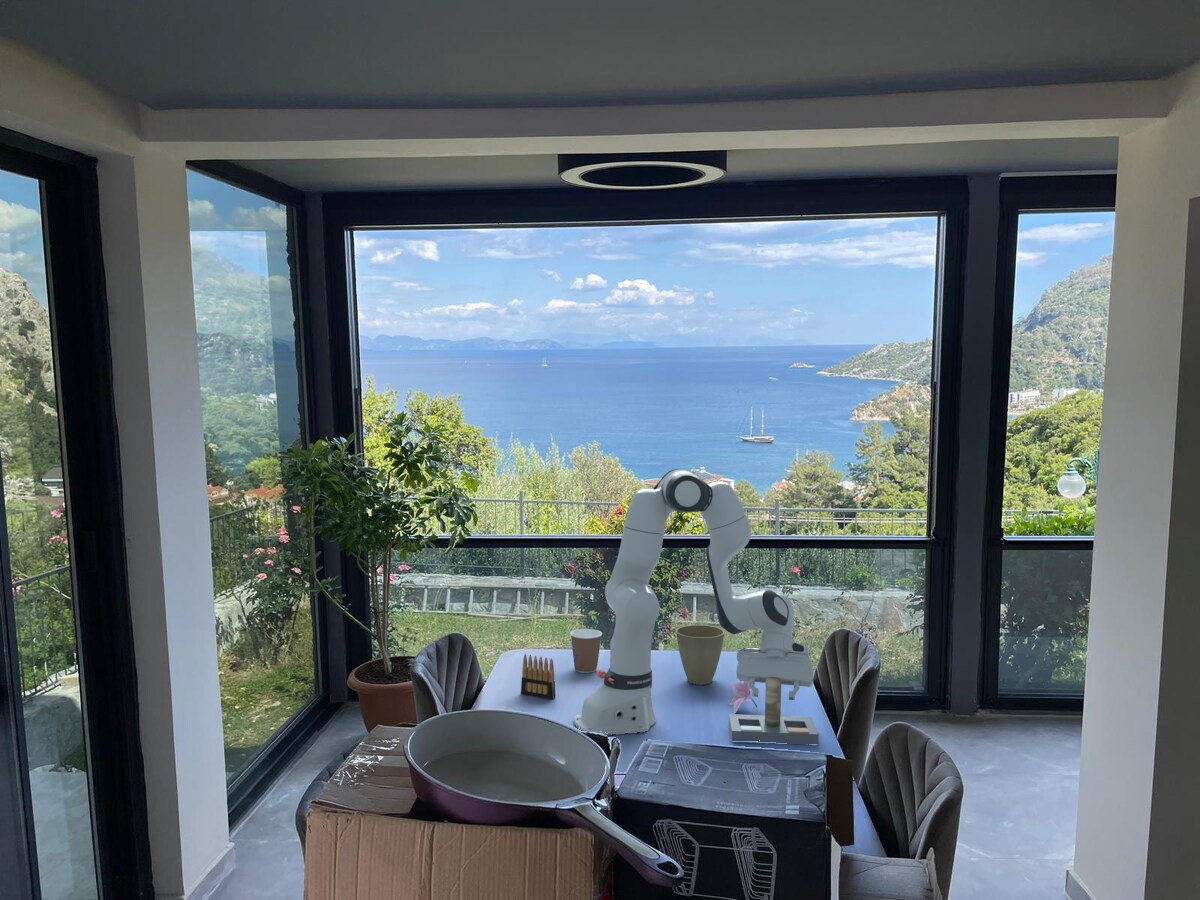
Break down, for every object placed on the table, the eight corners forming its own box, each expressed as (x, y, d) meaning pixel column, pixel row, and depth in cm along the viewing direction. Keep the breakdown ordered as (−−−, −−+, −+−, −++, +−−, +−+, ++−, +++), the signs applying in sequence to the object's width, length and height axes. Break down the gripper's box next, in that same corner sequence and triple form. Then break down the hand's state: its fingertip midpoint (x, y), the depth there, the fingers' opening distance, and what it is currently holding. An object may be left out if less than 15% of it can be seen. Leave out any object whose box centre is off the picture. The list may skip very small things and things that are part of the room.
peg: (770, 727, 232) (771, 682, 231) (761, 722, 235) (762, 677, 234) (783, 725, 233) (784, 680, 232) (774, 720, 237) (775, 676, 236)
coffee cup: (572, 663, 293) (573, 628, 292) (603, 665, 291) (604, 629, 291) (567, 673, 283) (567, 636, 282) (599, 675, 281) (599, 638, 280)
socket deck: (731, 742, 229) (732, 729, 229) (728, 724, 241) (728, 712, 241) (818, 745, 228) (818, 732, 227) (810, 728, 240) (811, 715, 239)
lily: (735, 701, 262) (721, 675, 260) (772, 691, 258) (759, 664, 256) (732, 728, 252) (718, 701, 249) (771, 717, 248) (757, 690, 245)
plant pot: (710, 671, 287) (711, 623, 285) (731, 686, 273) (732, 635, 271) (667, 675, 282) (668, 626, 281) (686, 691, 268) (687, 639, 267)
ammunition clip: (520, 694, 263) (520, 654, 263) (523, 692, 265) (524, 652, 264) (552, 699, 259) (552, 659, 258) (555, 697, 261) (555, 657, 260)
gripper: (737, 641, 243) (733, 688, 234) (814, 647, 238) (812, 695, 229) (738, 653, 248) (734, 699, 239) (813, 659, 243) (812, 706, 234)
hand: (773, 697), depth 234 cm, fingers open, 8 cm apart
